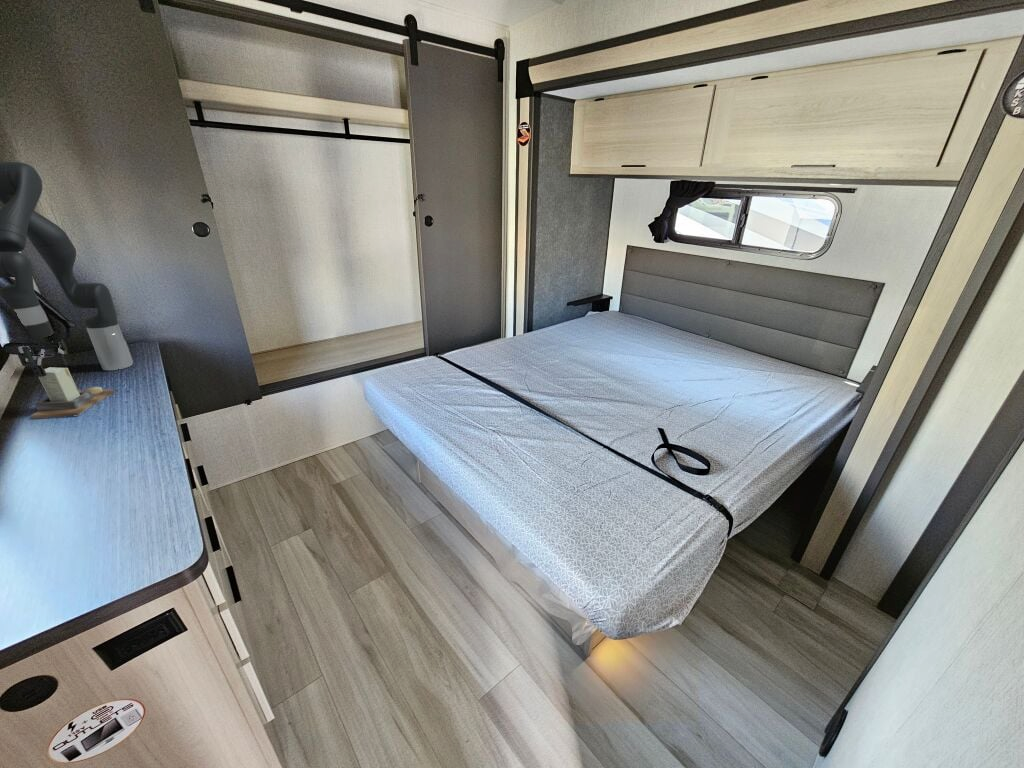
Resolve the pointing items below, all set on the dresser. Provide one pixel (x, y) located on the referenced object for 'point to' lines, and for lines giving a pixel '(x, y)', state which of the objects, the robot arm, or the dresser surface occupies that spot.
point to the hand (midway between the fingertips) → (52, 370)
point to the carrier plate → (71, 404)
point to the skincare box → (59, 384)
